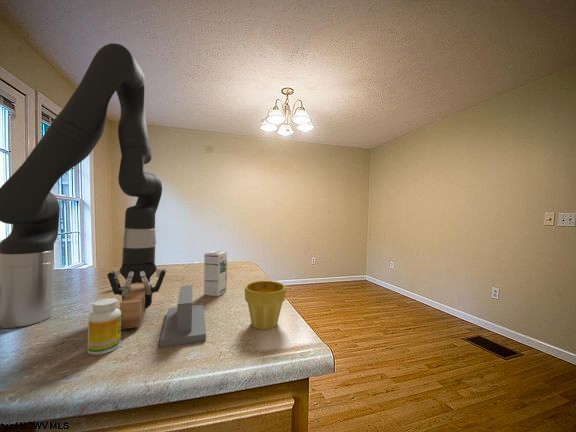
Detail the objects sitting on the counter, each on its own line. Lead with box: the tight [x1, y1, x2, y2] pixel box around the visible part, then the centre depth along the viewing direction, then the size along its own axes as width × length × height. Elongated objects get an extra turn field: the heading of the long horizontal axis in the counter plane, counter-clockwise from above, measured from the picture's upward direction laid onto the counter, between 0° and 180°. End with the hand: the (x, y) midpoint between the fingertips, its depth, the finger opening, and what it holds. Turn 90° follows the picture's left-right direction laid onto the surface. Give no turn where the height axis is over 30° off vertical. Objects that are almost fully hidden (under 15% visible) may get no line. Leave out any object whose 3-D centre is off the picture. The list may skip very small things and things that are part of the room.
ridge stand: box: [159, 284, 207, 349], centre depth 60 cm, size 9×18×8 cm, turn 21°
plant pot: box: [244, 280, 287, 330], centre depth 62 cm, size 10×10×10 cm
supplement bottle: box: [87, 297, 122, 356], centre depth 49 cm, size 5×5×10 cm
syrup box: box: [203, 250, 228, 297], centre depth 84 cm, size 6×6×14 cm
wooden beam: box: [119, 278, 152, 330], centre depth 65 cm, size 20×4×6 cm, turn 24°
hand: (137, 307), depth 65 cm, fingers closed on wooden beam, 4 cm apart
